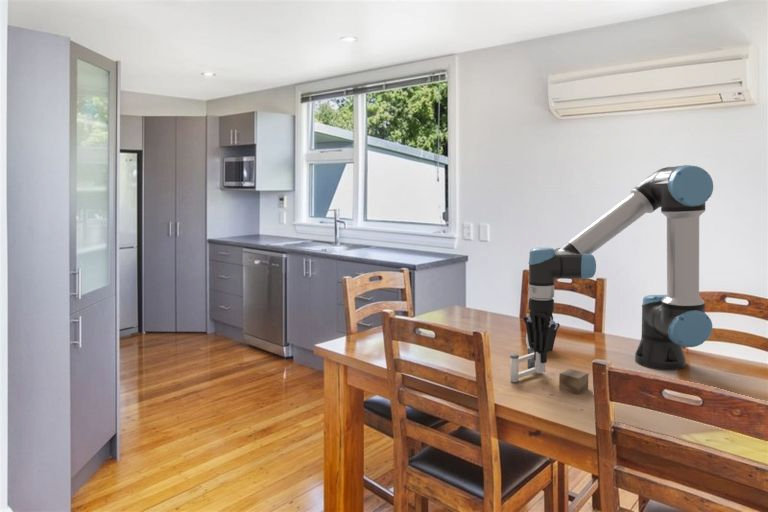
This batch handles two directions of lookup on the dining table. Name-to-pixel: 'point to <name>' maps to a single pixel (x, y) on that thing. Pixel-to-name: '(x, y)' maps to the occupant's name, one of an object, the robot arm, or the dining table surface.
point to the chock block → (573, 381)
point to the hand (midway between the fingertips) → (540, 372)
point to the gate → (514, 366)
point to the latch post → (531, 361)
